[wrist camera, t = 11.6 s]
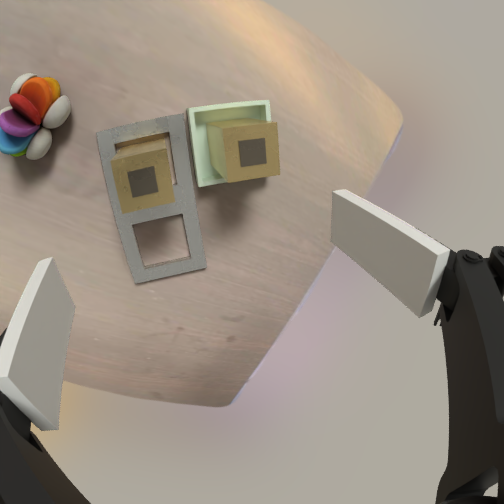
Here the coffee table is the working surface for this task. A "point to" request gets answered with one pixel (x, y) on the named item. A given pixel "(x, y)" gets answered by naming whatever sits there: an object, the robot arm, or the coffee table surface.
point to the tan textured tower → (142, 176)
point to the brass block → (244, 148)
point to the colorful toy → (32, 116)
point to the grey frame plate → (181, 205)
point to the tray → (213, 114)
